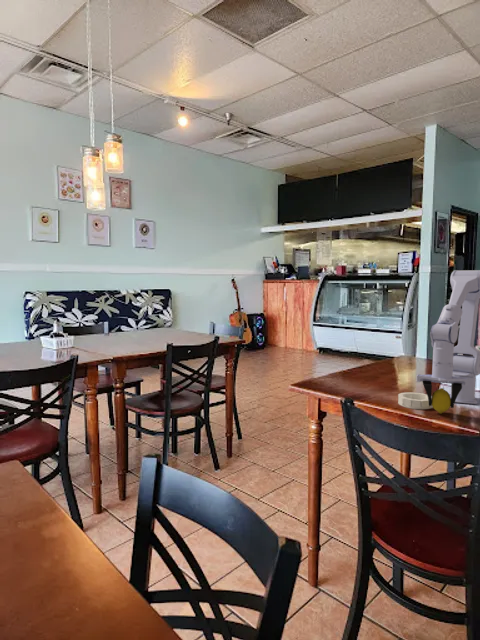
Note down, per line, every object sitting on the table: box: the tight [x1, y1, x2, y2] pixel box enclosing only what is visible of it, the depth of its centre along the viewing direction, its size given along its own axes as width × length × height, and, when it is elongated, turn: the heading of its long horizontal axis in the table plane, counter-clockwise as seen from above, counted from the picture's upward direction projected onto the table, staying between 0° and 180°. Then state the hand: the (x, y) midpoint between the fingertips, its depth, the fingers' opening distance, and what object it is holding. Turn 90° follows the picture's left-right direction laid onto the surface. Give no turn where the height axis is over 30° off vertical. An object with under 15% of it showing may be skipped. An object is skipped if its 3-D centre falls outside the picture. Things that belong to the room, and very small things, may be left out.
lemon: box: [431, 387, 451, 415], centre depth 137 cm, size 6×6×8 cm
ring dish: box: [397, 391, 434, 410], centre depth 147 cm, size 11×11×3 cm
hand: (440, 406), depth 137 cm, fingers closed on lemon, 5 cm apart
